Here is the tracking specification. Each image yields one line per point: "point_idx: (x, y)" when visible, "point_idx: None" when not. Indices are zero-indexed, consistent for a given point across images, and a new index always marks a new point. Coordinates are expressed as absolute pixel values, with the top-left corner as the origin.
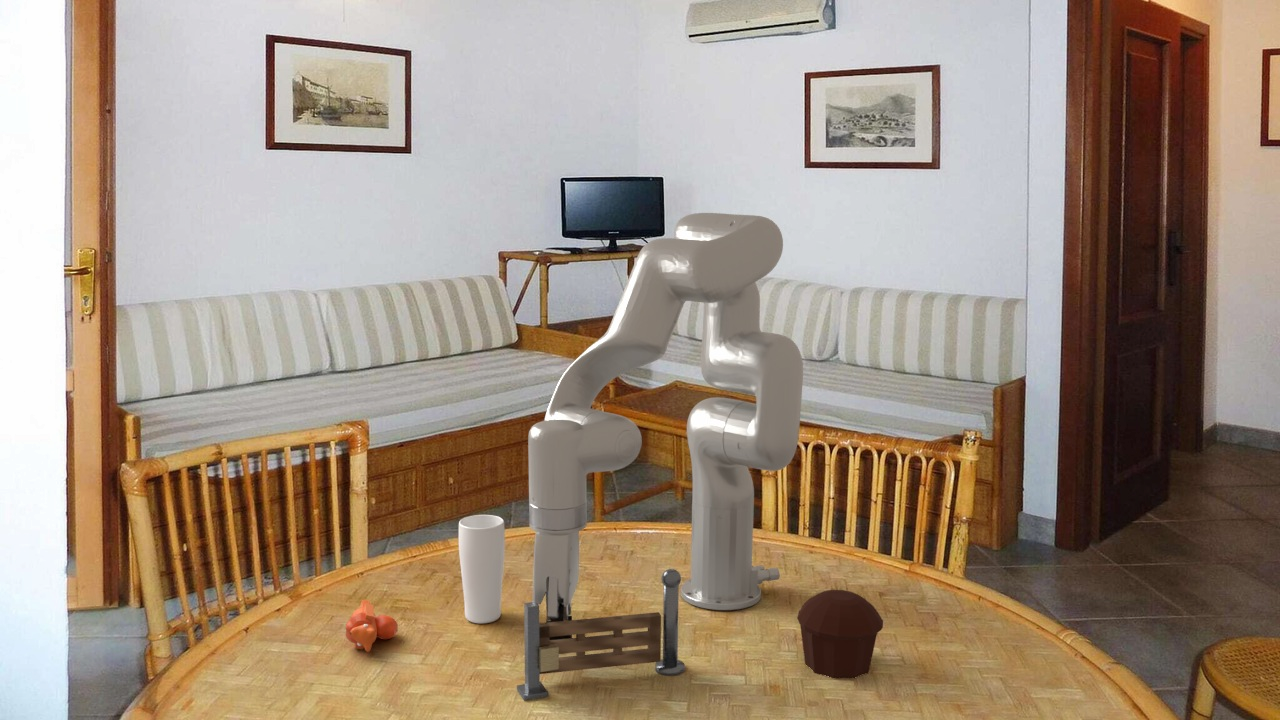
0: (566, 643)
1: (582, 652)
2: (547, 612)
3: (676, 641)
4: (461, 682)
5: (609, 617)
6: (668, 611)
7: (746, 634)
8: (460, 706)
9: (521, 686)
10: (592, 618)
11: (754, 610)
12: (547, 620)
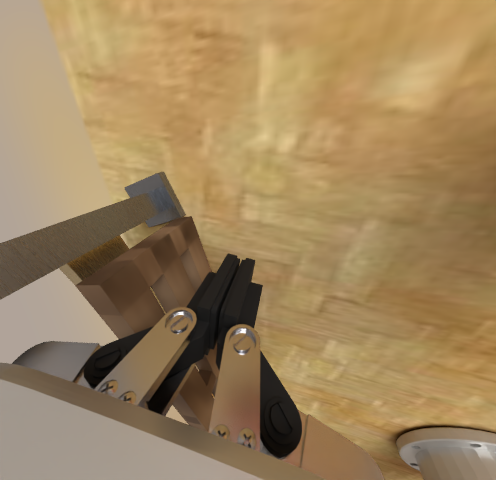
0: (162, 303)
1: None
2: (141, 342)
3: None
4: (173, 3)
5: (191, 413)
6: None
7: (324, 420)
8: (65, 37)
9: (156, 182)
10: (179, 394)
11: (388, 445)
12: (171, 311)
